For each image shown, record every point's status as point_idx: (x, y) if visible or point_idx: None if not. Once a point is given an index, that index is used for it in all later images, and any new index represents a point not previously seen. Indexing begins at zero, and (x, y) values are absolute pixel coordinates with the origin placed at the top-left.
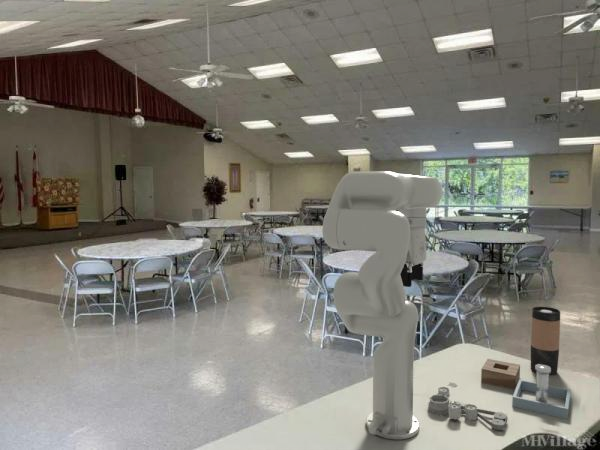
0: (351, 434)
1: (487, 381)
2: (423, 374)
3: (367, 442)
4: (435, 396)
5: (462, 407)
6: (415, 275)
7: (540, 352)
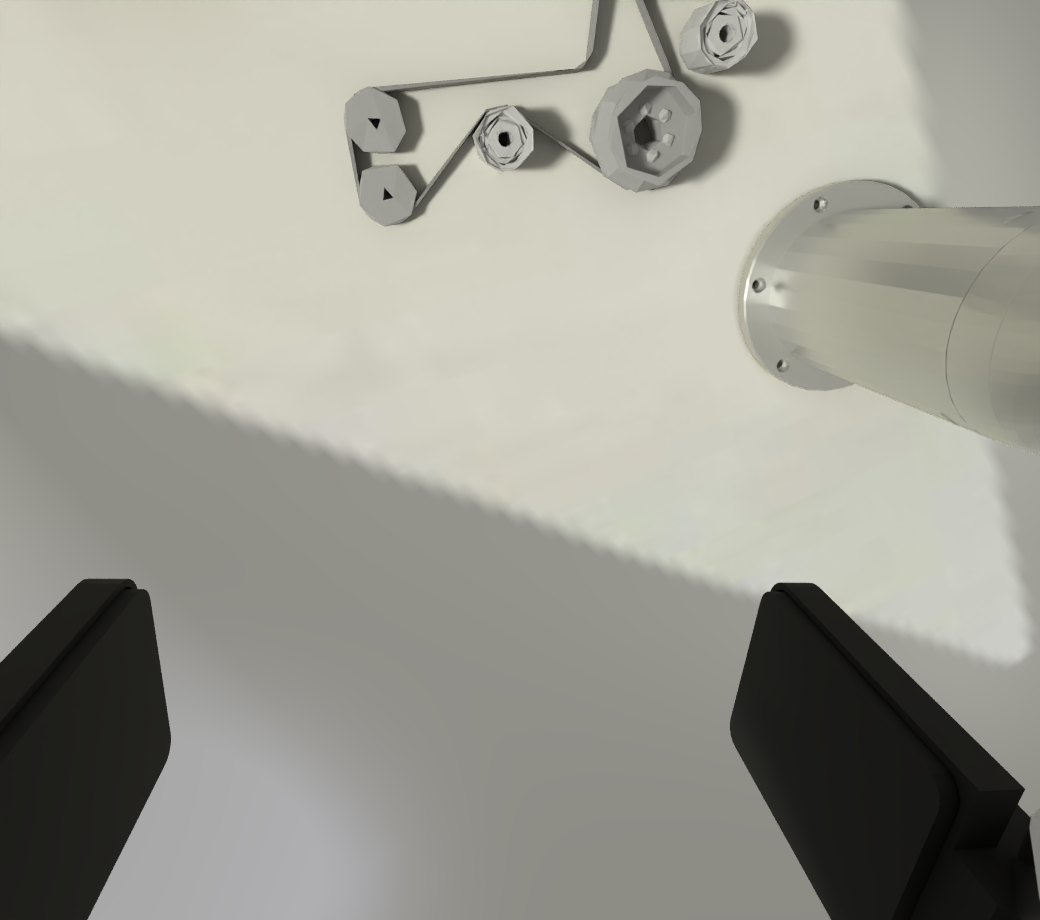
0: None
1: None
2: (284, 303)
3: None
4: (624, 159)
5: (595, 20)
6: (125, 756)
7: None
